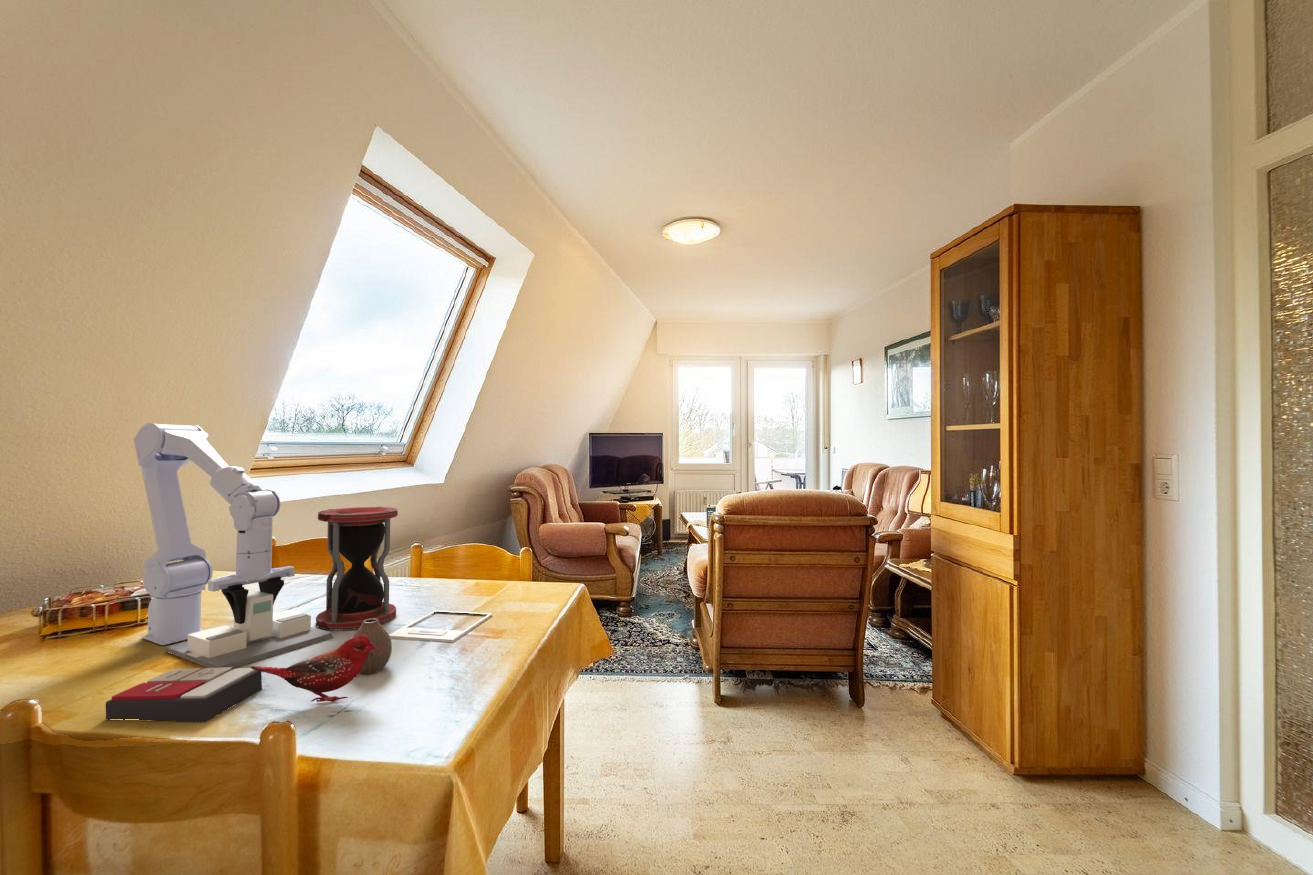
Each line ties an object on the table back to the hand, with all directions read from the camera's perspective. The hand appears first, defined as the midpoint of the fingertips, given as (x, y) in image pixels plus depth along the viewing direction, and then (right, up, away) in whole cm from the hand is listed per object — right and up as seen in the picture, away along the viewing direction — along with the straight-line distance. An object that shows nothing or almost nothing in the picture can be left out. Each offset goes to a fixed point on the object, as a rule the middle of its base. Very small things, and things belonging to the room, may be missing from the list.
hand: (252, 619), depth 109 cm
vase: (+30, -5, -12) cm, 33 cm away
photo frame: (+33, -6, +12) cm, 36 cm away
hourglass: (+12, -6, +16) cm, 21 cm away
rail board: (0, -5, 0) cm, 5 cm away
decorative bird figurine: (+28, -5, -25) cm, 37 cm away
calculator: (+9, -5, -25) cm, 27 cm away
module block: (0, -3, 0) cm, 3 cm away
